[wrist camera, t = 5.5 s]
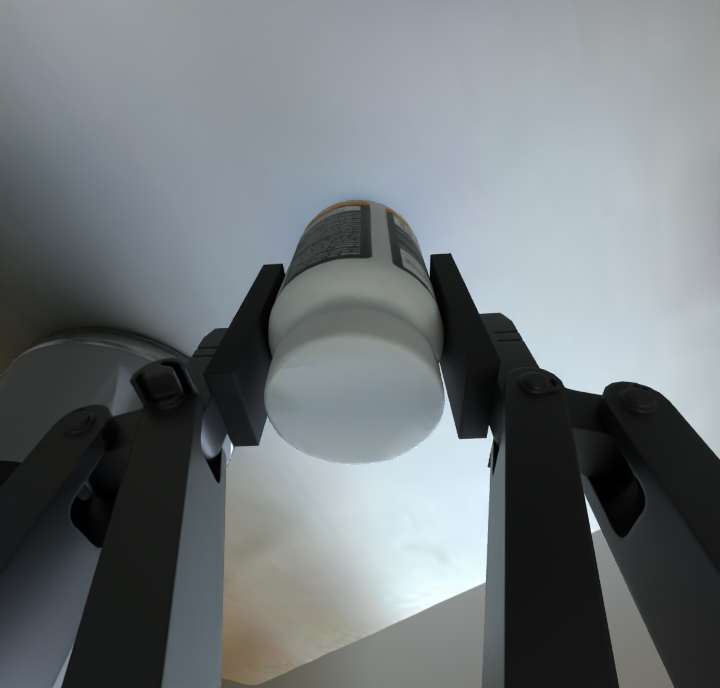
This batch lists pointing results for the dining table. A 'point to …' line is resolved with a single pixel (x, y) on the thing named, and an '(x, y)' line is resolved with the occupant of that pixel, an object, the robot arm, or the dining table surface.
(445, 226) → the dining table surface
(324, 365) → the pill bottle
